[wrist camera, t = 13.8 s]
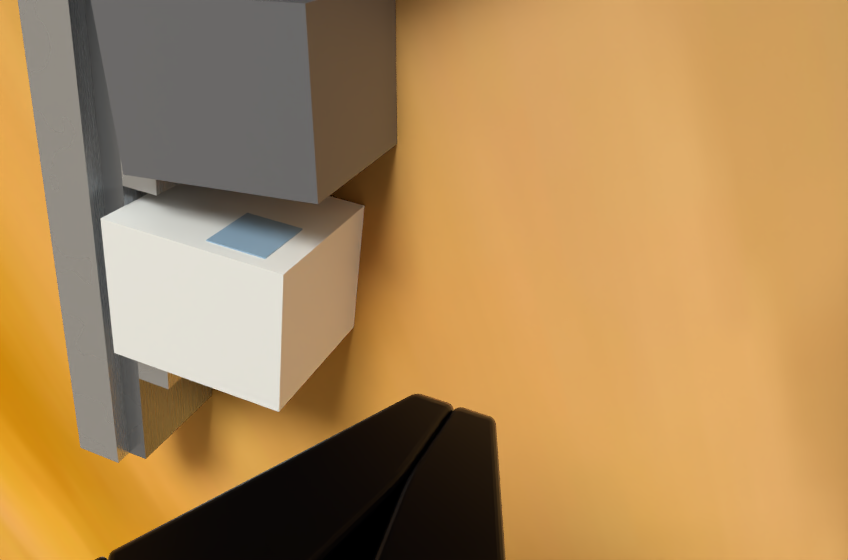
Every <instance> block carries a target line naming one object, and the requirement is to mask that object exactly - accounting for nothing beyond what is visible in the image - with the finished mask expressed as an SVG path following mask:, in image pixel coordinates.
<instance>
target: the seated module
mask: <svg viewBox="0 0 848 560" xmlns="http://www.w3.org/2000/svg"><path fill="white" fill-rule="evenodd" d="M91 5H92V10H93V15H94V21H95V26H96V31H97V36H98V42H99V47H100V52H101V58H102V63H103V68H104V74H105V79H106V84H107V90H108V95H109V100H110V105H111V111H112V116H113V121H114V127H115V132H116V137H117V143H118V148H119V153H120V159H121V164H122V169H123V174H124V175H129V176H136V177H142V178H149V179H155V180H162V181H168V182H175V183H182V184H188V185H195V186H201V187H208V188H215V189H221V190H228V191H234V192H241V193H247V194H254V195H261V196H267V197H274V198H280V199H287V200H294V201H300V202H307V203H313V204H319V203H320V202H322V201H323V200H324V199H326V198H327V197H328V196H330V195H331V194H332V193H333V192H335V191H336V190H337V189H339V188H340V187H341V186H343V185H344V184H345V183H347V182H348V181H349V180H350V179H352V178H353V177H354V176H356V175H357V174H358V173H360V172H361V171H362V170H364V169H365V168H366V167H368V166H369V165H370V164H371V163H373V162H374V161H375V160H377V159H378V158H379V157H381V156H382V155H383V154H385V153H386V152H387V151H389V150H390V149H391V148H392V147H394V146H395V145H396V144H397V92H396V0H91Z"/></svg>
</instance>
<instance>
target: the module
mask: <svg viewBox="0 0 848 560" xmlns="http://www.w3.org/2000/svg"><path fill="white" fill-rule="evenodd" d="M363 217H364V205H360V204H357V203H353V202H349V201H346V200H342V199H338V198H335V197H331V196H328V197H327V198H326V199H324V200H323V201H322V202H320V203H319V204H313V203H307V202H300V201H294V200H287V199H280V198H274V197H267V196H261V195H254V194H247V193H241V192H234V191H228V190H221V189H215V188H208V187H201V186H195V185H188V184H182V183H180V184H178V185H176V186H174V187H172V188H170V189H168V190H166V191H165V192H163V193H161V194H159V195H157V196H156V195H153V194H149V193H148V194H146V195H144V196H143V197H141V198H139V199H137V200H135V201H133V202H131V203H129V204H127V205H125V206H123V207H121V208H120V209H118V210H116V211H114V212H112V213H110V214H108V215H106V216H104V217H102V218H100V220H101V229H102V239H103V249H104V258H105V268H106V278H107V288H108V297H109V307H110V317H111V327H112V336H113V346H114V353H116V354H119V355H122V356H124V357H127V358H130V359H133V360H135V361H138V362H141V363H144V364H147V365H149V366H152V367H155V368H158V369H161V370H163V371H166V372H169V373H172V374H175V375H177V376H180V377H183V378H186V379H189V380H191V381H194V382H197V383H200V384H202V385H205V386H208V387H211V388H214V389H216V390H219V391H222V392H225V393H228V394H230V395H233V396H236V397H239V398H242V399H244V400H247V401H250V402H253V403H255V404H258V405H261V406H264V407H267V408H269V409H272V410H275V411H278V412H279V411H280V410H281V409H282V408H283V407H284V406H285V405H286V403H287V402H288V401H289V400H290V399H291V398H292V397H293V395H294V394H295V393H296V392H297V391H298V390H299V389H300V388H301V386H302V385H303V384H304V383H305V382H306V381H307V380H308V378H309V377H310V376H311V375H312V374H313V373H314V372H315V370H316V369H317V368H318V367H319V366H320V365H321V364H322V362H323V361H324V360H325V359H326V358H327V357H328V356H329V355H330V353H331V352H332V351H333V350H334V349H335V348H336V347H337V345H338V344H339V343H340V342H341V341H342V340H343V339H344V337H345V336H346V335H347V334H348V333H349V332H350V331H351V330H352V328H353V327H354V319H355V307H356V296H357V285H358V274H359V262H360V251H361V240H362V228H363Z"/></svg>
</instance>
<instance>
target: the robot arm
mask: <svg viewBox="0 0 848 560" xmlns="http://www.w3.org/2000/svg"><path fill="white" fill-rule="evenodd" d="M95 560H107V558H105V557H99V558H97V559H95ZM108 560H505V546H504V532H503V518H502V504H501V490H500V476H499V461H498V447H497V433H496V423H495V421H494V419H493V418H492V417H490V416H487V415H484V414H481V413H478V412H475V411H472V410H469V409H465V408H461V407H460V408H456V409H455V410H454V409H453V407H452V406H451V404H449V403H447V402H444V401H441V400H438V399H435V398H432V397H428V396H425V395H422V394H414V395H411V396H409V397H407V398H405V399H403V400H401V401H399V402H397V403H395V404H393V405H391V406H389V407H388V408H386V409H384V410H382V411H380V412H378V413H376V414H374V415H372V416H370V417H368V418H366V419H365V420H363V421H361V422H359V423H357V424H355V425H353V426H351V427H349V428H347V429H345V430H343V431H342V432H340V433H338V434H336V435H334V436H332V437H330V438H328V439H326V440H324V441H322V442H320V443H318V444H317V445H315V446H313V447H311V448H309V449H307V450H305V451H303V452H301V453H299V454H297V455H295V456H294V457H292V458H290V459H288V460H286V461H284V462H282V463H280V464H278V465H276V466H274V467H272V468H271V469H269V470H267V471H265V472H263V473H261V474H259V475H257V476H255V477H253V478H251V479H249V480H247V481H246V482H244V483H242V484H240V485H238V486H236V487H234V488H232V489H230V490H228V491H226V492H224V493H223V494H221V495H219V496H217V497H215V498H213V499H211V500H209V501H207V502H205V503H203V504H201V505H200V506H198V507H196V508H194V509H192V510H190V511H188V512H186V513H184V514H182V515H180V516H178V517H177V518H175V519H173V520H171V521H169V522H167V523H165V524H163V525H161V526H159V527H157V528H155V529H153V530H152V531H150V532H148V533H146V534H144V535H142V536H140V537H138V538H136V539H134V540H132V541H130V542H129V543H127V544H125V545H123V546H121V547H119V548H117V549H115V550H113V551H112V552H111V553H110V555H109V558H108Z"/></svg>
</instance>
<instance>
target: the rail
mask: <svg viewBox="0 0 848 560" xmlns="http://www.w3.org/2000/svg"><path fill="white" fill-rule="evenodd" d="M18 5H19V12H20V19H21V26H22V33H23V40H24V48H25V55H26V62H27V69H28V76H29V83H30V90H31V97H32V105H33V112H34V119H35V126H36V133H37V140H38V147H39V154H40V162H41V169H42V176H43V183H44V190H45V197H46V204H47V211H48V219H49V226H50V233H51V240H52V247H53V254H54V261H55V268H56V276H57V283H58V290H59V297H60V304H61V311H62V318H63V325H64V333H65V340H66V347H67V354H68V361H69V368H70V375H71V382H72V390H73V397H74V404H75V411H76V418H77V425H78V432H79V439H80V447H81V448H83V449H85V450H88V451H90V452H93V453H95V454H98V455H100V456H103V457H105V458H108V459H110V460H113V461H115V462H118V463H119V462H120V461H121V460H122V459H123V458H124V457H125V456H126V455H127V454H128V453H129V452H130V453H132V454H135V455H137V456H140V457H142V458H145V459H146V458H147V457H148V456H149V455H150V454H151V453H152V452H153V451H154V450H156V449H157V448H158V447H159V446H160V445H161V444H162V443H163V442H164V441H165V440H166V439H167V438H168V437H169V436H170V435H171V434H172V433H173V432H174V431H175V430H176V429H177V428H178V427H179V426H180V425H182V424H183V423H184V422H185V421H186V420H187V419H188V418H189V417H190V416H191V415H192V414H193V413H194V412H195V411H196V410H197V409H198V408H199V407H200V406H201V405H202V404H203V403H204V402H205V401H206V400H207V399H209V398H210V397H211V396H212V388H211V387H208V386H205V385H202V384H200V383H197V382H194V381H191V380H189V379H186V378H183V377H180V376H177V375H175V374H172V373H169V372H166V371H163V370H161V369H158V368H155V367H152V366H149V365H147V364H144V363H141V362H138V361H135V360H133V359H130V358H127V357H124V356H122V355H119V354H116V353H114V346H113V336H112V327H111V317H110V307H109V297H108V288H107V278H106V268H105V258H104V249H103V239H102V229H101V220H100V218H102V217H104V216H106V215H108V214H110V213H112V212H114V211H116V210H118V209H120V208H121V207H123V206H125V205H127V204H129V203H131V202H133V201H135V200H137V199H139V198H141V197H143V196H144V195H146V194H148V193H149V194H153V195H156V196H157V195H159V194H161V193H163V192H165V191H166V190H168V189H170V188H172V187H174V186H176V185H178V184H180V183H175V182H168V181H162V180H155V179H149V178H142V177H136V176H129V175H124V174H123V169H122V164H121V159H120V153H119V148H118V143H117V137H116V132H115V127H114V121H113V116H112V111H111V105H110V100H109V95H108V90H107V84H106V79H105V74H104V68H103V63H102V58H101V52H100V47H99V42H98V36H97V31H96V26H95V21H94V15H93V10H92V5H91V0H18Z"/></svg>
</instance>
